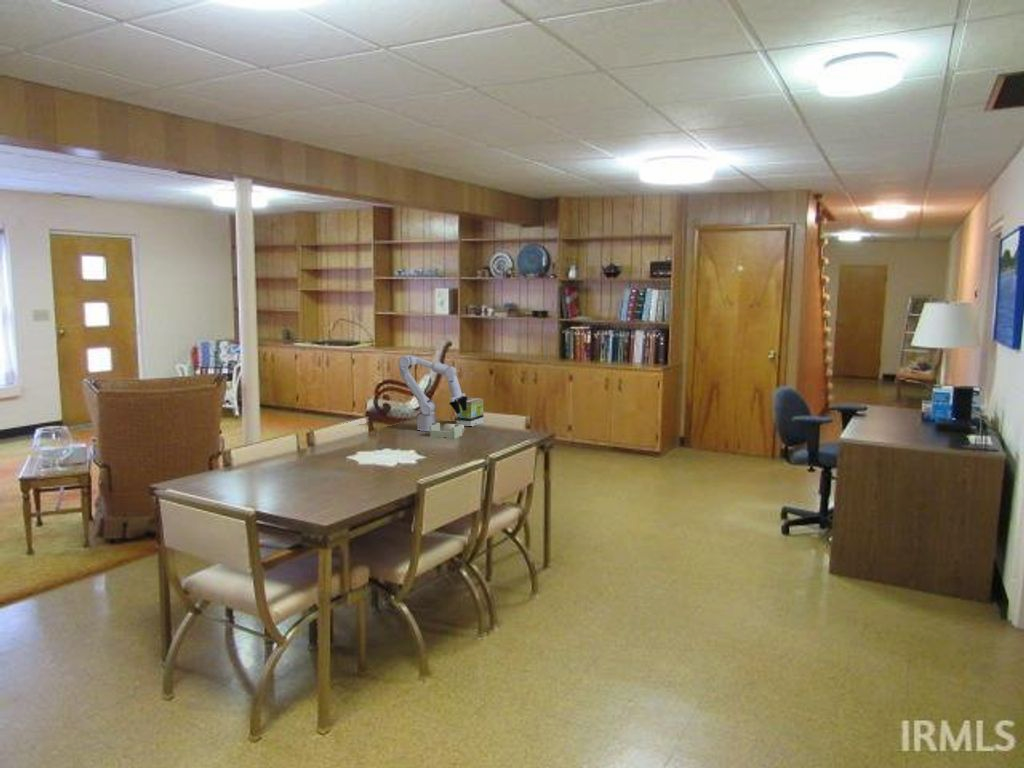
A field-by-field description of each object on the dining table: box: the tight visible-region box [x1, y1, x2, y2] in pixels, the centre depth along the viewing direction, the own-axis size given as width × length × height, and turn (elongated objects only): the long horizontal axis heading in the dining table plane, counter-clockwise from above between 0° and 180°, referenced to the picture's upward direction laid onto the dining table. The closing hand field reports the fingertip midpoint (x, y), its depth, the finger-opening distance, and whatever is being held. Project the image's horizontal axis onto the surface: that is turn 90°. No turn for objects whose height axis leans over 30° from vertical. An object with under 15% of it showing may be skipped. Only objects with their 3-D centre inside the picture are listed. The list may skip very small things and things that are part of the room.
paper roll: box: [443, 423, 465, 434], centre depth 393 cm, size 10×5×5 cm, turn 66°
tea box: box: [456, 397, 485, 427], centre depth 416 cm, size 15×10×15 cm, turn 154°
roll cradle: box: [429, 422, 463, 439], centre depth 385 cm, size 15×9×7 cm, turn 66°
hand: (461, 411), depth 398 cm, fingers open, 7 cm apart
